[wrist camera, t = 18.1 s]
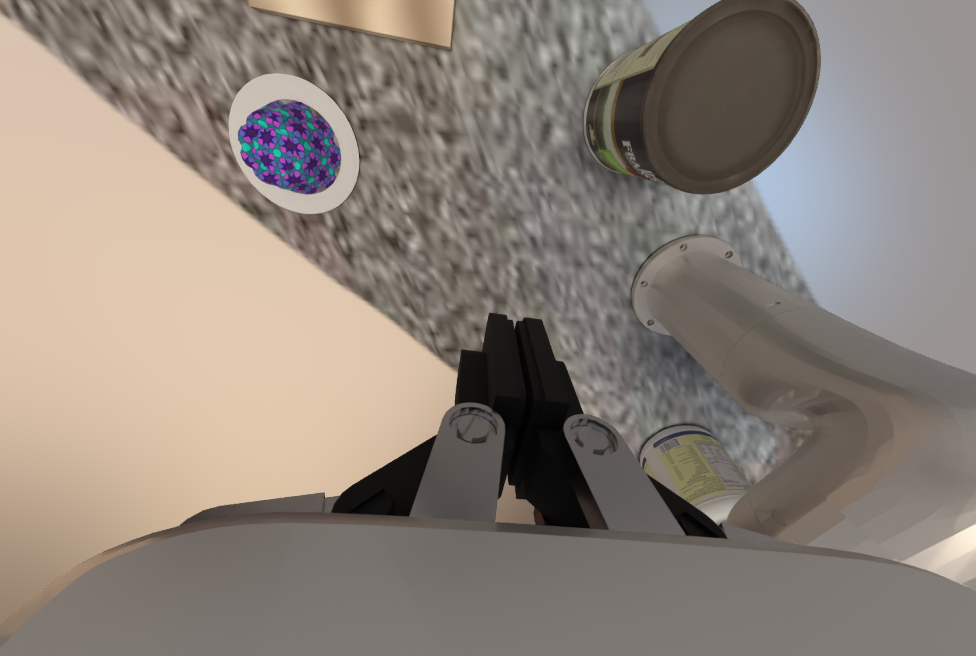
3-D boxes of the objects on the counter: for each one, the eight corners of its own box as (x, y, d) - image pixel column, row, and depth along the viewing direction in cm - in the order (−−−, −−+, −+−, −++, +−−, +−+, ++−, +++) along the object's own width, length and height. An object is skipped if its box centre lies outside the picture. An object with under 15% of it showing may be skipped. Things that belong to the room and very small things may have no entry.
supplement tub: (687, 479, 60) (756, 592, 45) (623, 468, 58) (673, 582, 43) (729, 429, 54) (823, 539, 39) (659, 415, 52) (731, 525, 38)
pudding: (371, 105, 32) (353, 100, 28) (351, 227, 38) (334, 240, 33) (233, 51, 30) (189, 36, 26) (233, 189, 36) (198, 198, 31)
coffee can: (644, 191, 37) (729, 221, 24) (562, 142, 34) (610, 147, 22) (715, 86, 32) (863, 56, 20) (626, 20, 30) (732, -59, 17)
